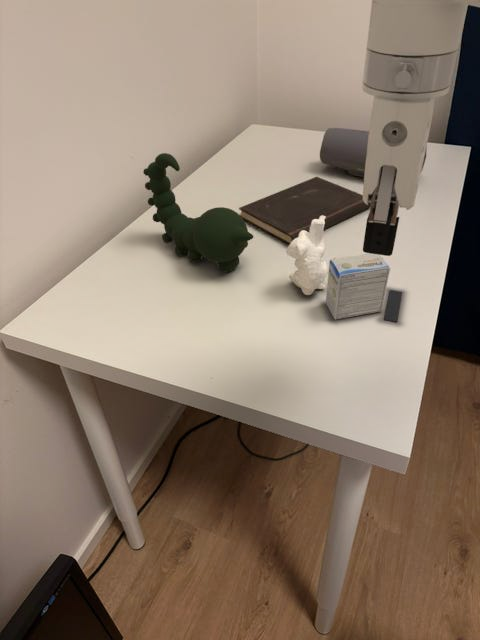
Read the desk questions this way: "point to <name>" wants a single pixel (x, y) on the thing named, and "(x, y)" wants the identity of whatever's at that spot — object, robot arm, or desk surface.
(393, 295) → the strip
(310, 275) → the white bunny figurine
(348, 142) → the bluetooth speaker
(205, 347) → the desk surface
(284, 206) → the hardcover book
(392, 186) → the robot arm
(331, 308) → the medicine box
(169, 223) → the toy figurine
